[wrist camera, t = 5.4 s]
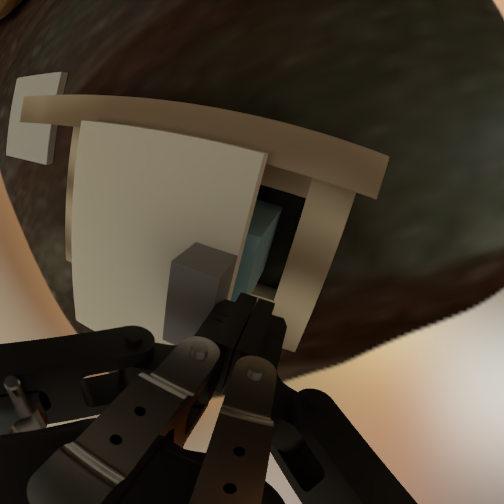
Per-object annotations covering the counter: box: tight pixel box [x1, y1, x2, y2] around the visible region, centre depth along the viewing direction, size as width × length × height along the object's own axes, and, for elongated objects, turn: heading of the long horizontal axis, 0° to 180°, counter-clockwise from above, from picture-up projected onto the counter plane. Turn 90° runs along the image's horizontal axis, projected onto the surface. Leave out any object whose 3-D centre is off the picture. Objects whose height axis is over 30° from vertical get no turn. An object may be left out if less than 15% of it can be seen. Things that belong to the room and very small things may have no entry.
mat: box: [6, 72, 68, 165], centre depth 23 cm, size 10×10×1 cm
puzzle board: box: [20, 95, 389, 352], centre depth 20 cm, size 16×24×8 cm, turn 76°
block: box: [231, 199, 282, 302], centre depth 19 cm, size 5×5×8 cm
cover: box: [71, 120, 269, 345], centre depth 14 cm, size 13×10×3 cm
